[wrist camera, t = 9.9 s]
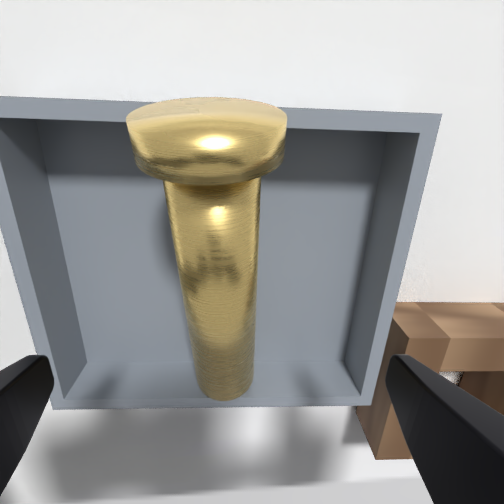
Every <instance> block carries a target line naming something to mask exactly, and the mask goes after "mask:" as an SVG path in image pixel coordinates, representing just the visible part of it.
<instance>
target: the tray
mask: <svg viewBox="0 0 504 504" xmlns="http://www.w3.org/2000/svg"><path fill="white" fill-rule="evenodd" d="M152 103H157V102H135V101H110V100H85V99H60V98H35V97H10V96H0V228H1V231H2V235H3V238H4V242H5V245H6V248H7V252H8V255H9V259H10V262H11V266H12V269H13V273H14V276H15V280H16V283H17V287H18V290H19V294H20V297H21V300H22V304H23V307H24V311H25V314H26V318H27V321H28V325H29V328H30V332H31V335H32V339H33V342H34V346H35V349H36V352H37V355H45V356H47V357H48V358H49V361H50V365H51V369H52V372H53V376H54V388H53V391H52V393H51V395H50V397H49V398H50V401H51V404H52V408H53V410H63V409H138V408H214V407H289V406H365V405H371V403H372V398H373V394H374V390H375V386H376V382H377V378H378V374H379V370H380V366H381V362H382V358H383V354H384V349H385V345H386V341H387V337H388V333H389V329H390V325H391V321H392V317H393V313H394V309H395V305H396V300H397V296H398V292H399V288H400V284H401V280H402V276H403V272H404V268H405V264H406V260H407V255H408V251H409V247H410V243H411V239H412V235H413V231H414V227H415V223H416V219H417V215H418V211H419V206H420V202H421V198H422V194H423V190H424V186H425V182H426V178H427V174H428V170H429V166H430V162H431V157H432V153H433V149H434V145H435V141H436V137H437V133H438V129H439V125H440V121H441V117H442V114H434V113H409V112H384V111H359V110H334V109H309V108H284V107H277V108H279V109H281V110H282V111H284V112H285V114H286V115H287V127H286V139H285V151H284V160H283V162H282V164H281V165H280V166H279V167H278V168H276V169H275V170H274V171H272V172H270V173H268V174H266V175H264V176H261V195H260V221H259V248H258V275H257V301H256V328H255V355H254V377H253V381H252V384H251V386H250V387H249V389H248V390H247V391H246V392H245V393H244V394H243V395H242V396H240V397H238V398H236V399H234V400H230V401H217V400H214V399H211V398H209V397H208V396H206V395H205V394H204V393H203V392H202V391H201V389H200V388H199V385H198V382H197V377H196V371H195V366H194V360H193V354H192V348H191V342H190V337H189V331H188V325H187V319H186V313H185V308H184V302H183V296H182V290H181V284H180V279H179V273H178V267H177V261H176V255H175V250H174V244H173V238H172V232H171V226H170V221H169V215H168V209H167V203H166V197H165V192H164V186H163V180H160V179H157V178H154V177H152V176H149V175H147V174H146V173H144V172H142V171H141V170H140V169H139V168H138V167H137V165H136V163H135V159H134V154H133V150H132V145H131V141H130V136H129V132H128V127H127V123H126V117H127V116H128V114H129V113H131V112H132V111H134V110H135V109H138V108H140V107H142V106H145V105H149V104H152Z"/></svg>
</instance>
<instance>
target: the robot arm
mask: <svg viewBox="0 0 504 504" xmlns="http://www.w3.org/2000/svg"><path fill="white" fill-rule="evenodd" d="M385 384H386V388H387V391H388V394H389V397H390V399H391V402H392V405H393V408H394V411H395V414H396V416H397V419H398V422H399V425H400V428H401V431H402V433H403V436H404V439H405V441H406V444H407V446H408V449H409V451H410V453H411V455H412V458H413V460H414V462H415V464H416V466H417V468H418V471H419V473H420V475H421V477H422V479H423V481H424V483H425V486H426V488H427V490H428V492H429V494H430V496H431V499H432V501H433V503H434V504H504V415H502V414H500V413H499V412H497V411H496V410H494V409H493V408H491V407H490V406H488V405H486V404H485V403H483V402H482V401H480V400H479V399H477V398H475V397H474V396H472V395H471V394H469V393H468V392H466V391H465V390H463V389H461V388H460V387H458V386H457V385H455V384H454V383H452V382H450V381H449V380H447V379H446V378H444V377H443V376H441V375H440V374H438V373H436V372H435V371H433V370H432V369H430V368H429V367H427V366H425V365H424V364H422V363H421V362H419V361H418V360H416V359H415V358H413V357H411V356H410V355H407V354H394V355H392V356H391V358H390V361H389V365H388V369H387V372H386V376H385ZM53 388H54V376H53V372H52V369H51V365H50V361H49V358H48V357H47V356H45V355H29V356H26V357H24V358H22V359H21V360H19V361H17V362H15V363H13V364H12V365H10V366H8V367H6V368H4V369H3V370H1V371H0V496H1V494H2V492H3V490H4V489H5V487H6V485H7V483H8V482H9V480H10V478H11V476H12V474H13V473H14V471H15V469H16V467H17V465H18V464H19V462H20V460H21V458H22V456H23V454H24V453H25V451H26V449H27V446H28V444H29V442H30V440H31V438H32V436H33V433H34V431H35V429H36V427H37V424H38V422H39V420H40V418H41V415H42V413H43V411H44V409H45V406H46V404H47V402H48V400H49V397H50V395H51V393H52V391H53Z"/></svg>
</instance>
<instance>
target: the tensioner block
mask: <svg viewBox="0 0 504 504" xmlns="http://www.w3.org/2000/svg"><path fill="white" fill-rule="evenodd" d="M394 354H407V355H410V356H411V357H413V358H415V359H416V360H418V361H419V362H421V363H422V364H424V365H425V366H427V367H429V368H430V369H432V370H433V371H435V372H436V373H438V374H439V372H446V371H464V373H463V376H462V378H461V381H460V384H459V386H458V387H460V388H461V389H463V390H465V391H466V392H468V393H469V394H471V395H472V396H474V397H475V398H477V399H479V400H480V401H482V402H483V403H485V404H486V405H488V406H490V407H491V408H493V409H494V410H496V411H497V412H499V413H500V414H502V415H504V303H446V302H396V305H395V309H394V313H393V317H392V321H391V325H390V329H389V333H388V337H387V341H386V345H385V349H384V354H383V358H382V362H381V366H380V370H379V374H378V378H377V382H376V386H375V390H374V394H373V398H372V403H371V405H365V406H357V409H356V414H357V416H358V419H359V421H360V423H361V426H362V428H363V431H364V433H365V435H366V438H367V440H368V443H369V445H370V448H371V450H372V452H373V455H374V457H375V460H389V459H413V458H412V455H411V453H410V451H409V449H408V446H407V444H406V441H405V439H404V436H403V433H402V431H401V428H400V425H399V422H398V419H397V416H396V414H395V411H394V408H393V405H392V402H391V399H390V397H389V394H388V391H387V388H386V384H385V376H386V372H387V369H388V365H389V361H390V358H391V356H392V355H394Z"/></svg>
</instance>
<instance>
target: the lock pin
mask: <svg viewBox="0 0 504 504" xmlns="http://www.w3.org/2000/svg"><path fill="white" fill-rule="evenodd" d="M126 123H127V127H128V132H129V136H130V141H131V145H132V150H133V154H134V159H135V163H136V165H137V167H138V168H139V169H140V170H141V171H142V172H144V173H146V174H147V175H149V176H152V177H154V178H157V179H160V180H163V186H164V192H165V197H166V203H167V209H168V215H169V221H170V226H171V232H172V238H173V244H174V250H175V255H176V261H177V267H178V273H179V279H180V284H181V290H182V296H183V302H184V308H185V313H186V319H187V325H188V331H189V337H190V342H191V348H192V354H193V360H194V366H195V371H196V377H197V382H198V385H199V388H200V389H201V391H202V392H203V393H204V394H205V395H206V396H208V397H209V398H211V399H214V400H217V401H230V400H234V399H236V398H238V397H240V396H242V395H243V394H244V393H245V392H246V391H247V390H248V389H249V387H250V386H251V384H252V381H253V377H254V355H255V328H256V301H257V275H258V248H259V221H260V195H261V176H264V175H266V174H268V173H270V172H272V171H274V170H275V169H276V168H278V167H279V166H280V165H281V164H282V162H283V160H284V151H285V139H286V127H287V115H286V114H285V112H284V111H282V110H281V109H279V108H277V107H275V106H272V105H269V104H266V103H262V102H258V101H252V100H246V99H237V98H223V97H198V98H183V99H174V100H167V101H161V102H157V103H152V104H149V105H145V106H142V107H140V108H138V109H135V110H134V111H132V112H131V113H129V114H128V116H127V117H126Z"/></svg>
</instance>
